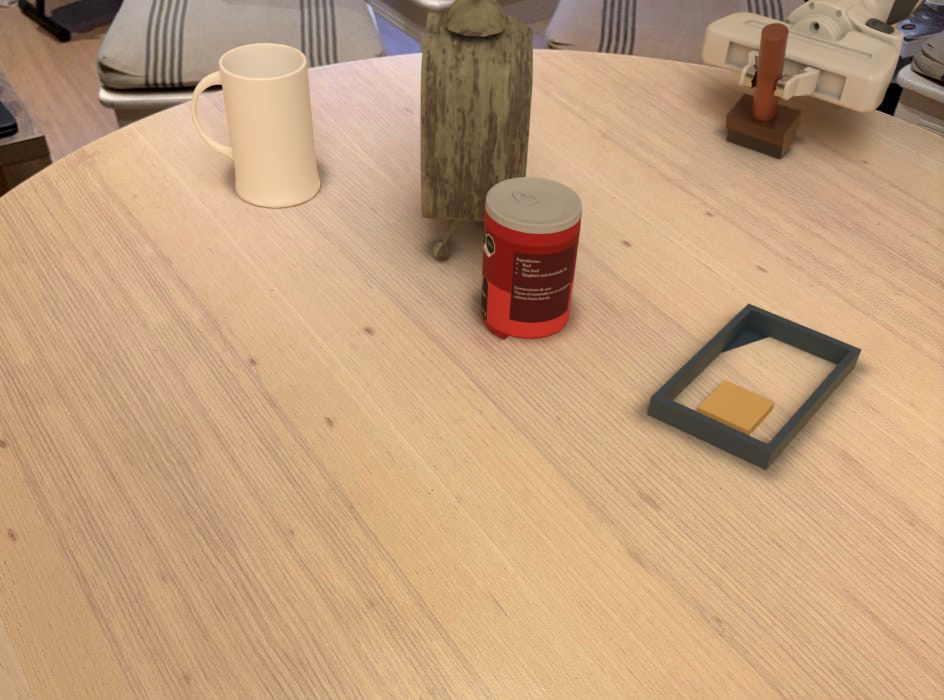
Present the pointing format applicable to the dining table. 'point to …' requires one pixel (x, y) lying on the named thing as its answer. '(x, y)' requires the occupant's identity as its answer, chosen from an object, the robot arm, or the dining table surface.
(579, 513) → the dining table surface
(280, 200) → the mug
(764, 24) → the robot arm
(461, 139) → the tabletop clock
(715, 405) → the tan square tile
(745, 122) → the brush
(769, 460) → the tray
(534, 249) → the canned food
